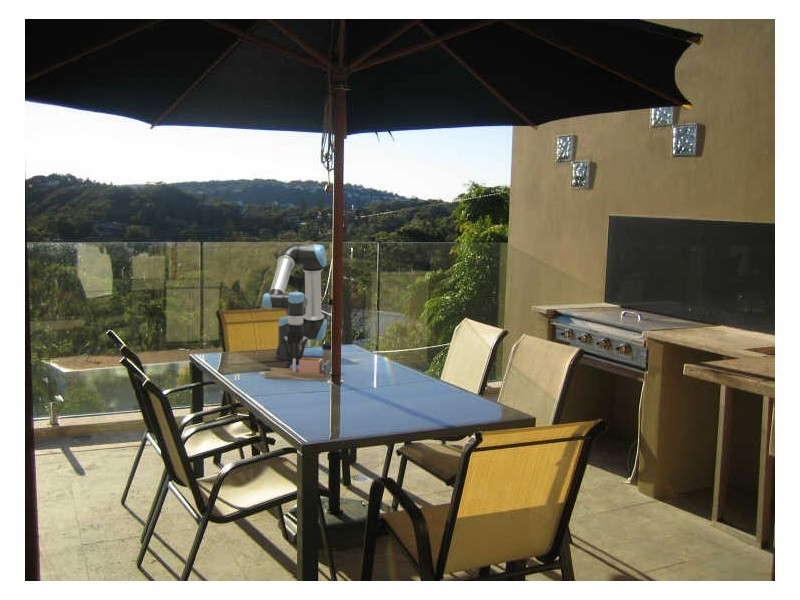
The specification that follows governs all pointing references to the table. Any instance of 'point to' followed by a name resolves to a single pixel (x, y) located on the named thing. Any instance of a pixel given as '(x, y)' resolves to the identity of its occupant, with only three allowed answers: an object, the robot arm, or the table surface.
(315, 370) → the box
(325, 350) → the coffee cup
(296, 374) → the bay
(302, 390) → the table surface
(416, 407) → the table surface
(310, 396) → the table surface
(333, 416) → the table surface
